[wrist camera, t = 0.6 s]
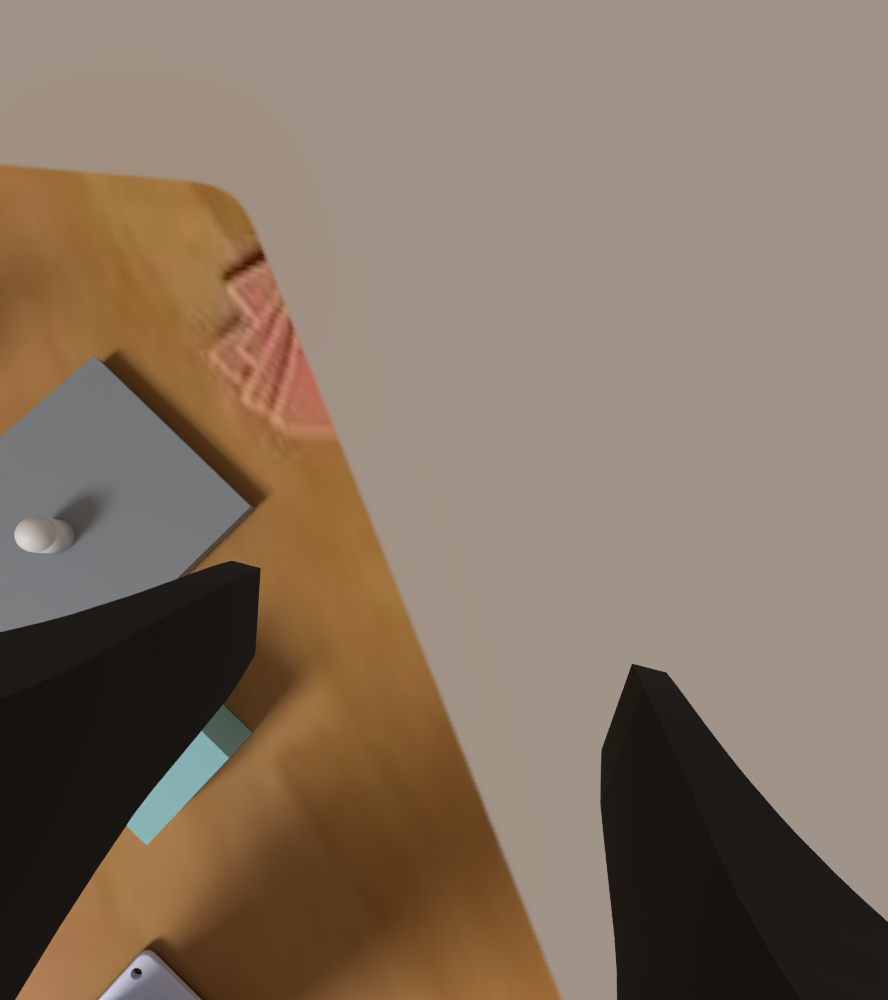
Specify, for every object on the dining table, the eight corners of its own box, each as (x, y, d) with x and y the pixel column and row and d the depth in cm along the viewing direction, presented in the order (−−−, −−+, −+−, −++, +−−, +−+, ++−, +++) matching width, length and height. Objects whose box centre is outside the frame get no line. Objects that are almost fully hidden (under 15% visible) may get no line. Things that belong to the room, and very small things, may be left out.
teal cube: (181, 807, 31) (146, 845, 27) (113, 739, 31) (67, 766, 27) (252, 732, 32) (229, 757, 27) (185, 667, 32) (151, 682, 28)
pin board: (28, 729, 31) (-21, 750, 27) (-133, 569, 31) (-203, 568, 28) (254, 508, 33) (237, 500, 30) (102, 362, 34) (67, 335, 30)
